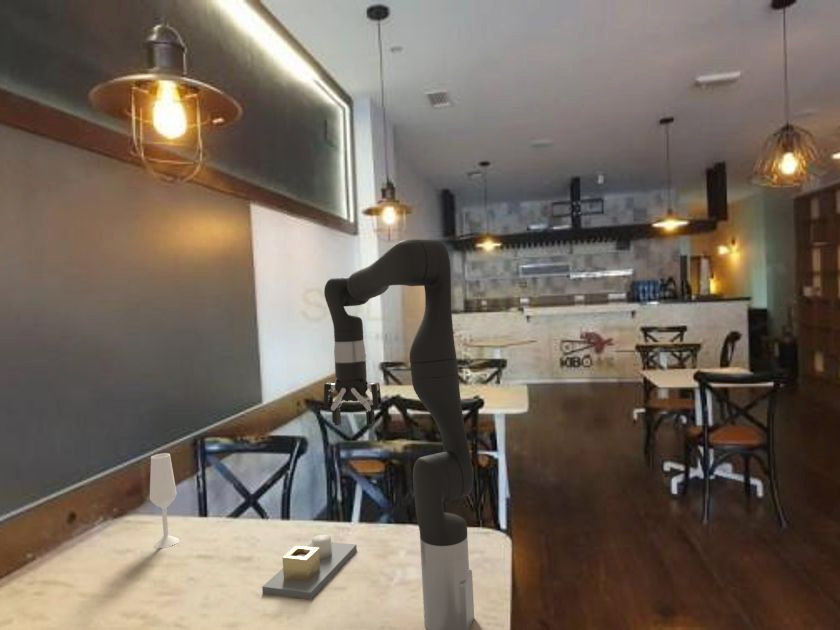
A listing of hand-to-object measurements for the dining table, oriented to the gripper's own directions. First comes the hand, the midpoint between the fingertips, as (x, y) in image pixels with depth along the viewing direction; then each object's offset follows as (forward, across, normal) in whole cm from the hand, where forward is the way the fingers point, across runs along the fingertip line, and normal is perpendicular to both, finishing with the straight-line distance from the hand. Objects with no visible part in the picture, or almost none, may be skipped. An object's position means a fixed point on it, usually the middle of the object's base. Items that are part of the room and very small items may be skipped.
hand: (353, 425), depth 140 cm
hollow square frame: (+32, -9, -13) cm, 35 cm away
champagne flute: (+33, -57, -2) cm, 66 cm away
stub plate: (+33, -9, -8) cm, 35 cm away
